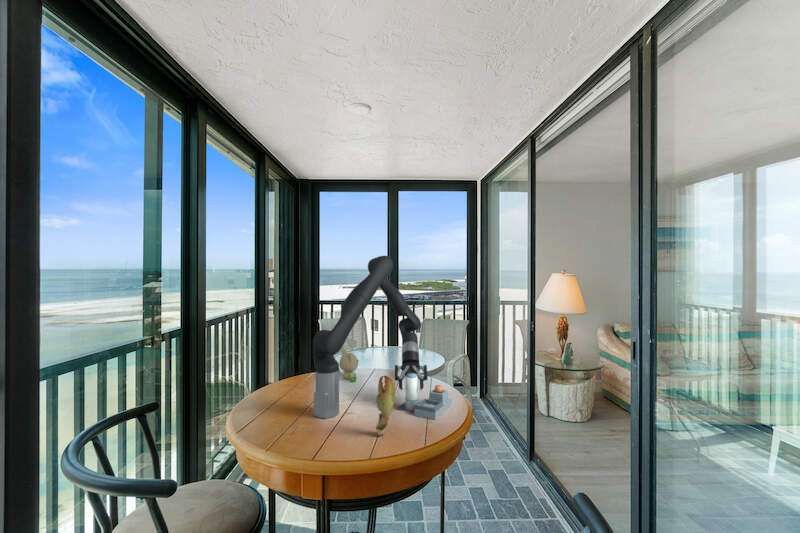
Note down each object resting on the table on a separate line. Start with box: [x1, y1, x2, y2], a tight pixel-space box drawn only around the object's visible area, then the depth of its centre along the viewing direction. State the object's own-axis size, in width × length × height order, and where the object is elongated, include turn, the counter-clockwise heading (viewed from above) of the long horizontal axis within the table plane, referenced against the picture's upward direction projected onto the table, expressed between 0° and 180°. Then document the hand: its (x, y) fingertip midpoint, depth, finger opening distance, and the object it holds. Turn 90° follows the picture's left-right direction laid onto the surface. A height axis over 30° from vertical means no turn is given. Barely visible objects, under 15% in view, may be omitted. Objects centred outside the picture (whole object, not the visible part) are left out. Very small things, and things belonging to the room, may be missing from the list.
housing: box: [413, 388, 453, 421], centre depth 145 cm, size 17×9×6 cm, turn 151°
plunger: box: [434, 384, 444, 393], centre depth 150 cm, size 3×3×2 cm
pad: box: [394, 401, 414, 414], centre depth 148 cm, size 10×10×1 cm
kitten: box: [338, 348, 359, 383], centre depth 190 cm, size 15×10×15 cm
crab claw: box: [375, 375, 396, 437], centre depth 123 cm, size 7×5×20 cm
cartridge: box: [404, 373, 419, 410], centre depth 147 cm, size 5×5×14 cm
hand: (411, 388), depth 145 cm, fingers open, 7 cm apart
